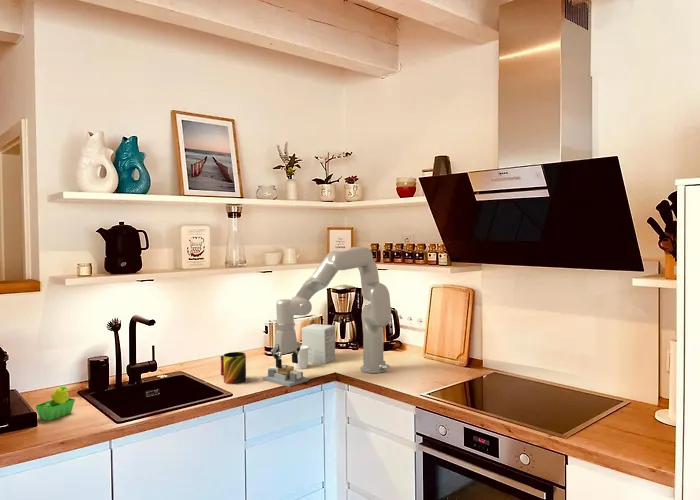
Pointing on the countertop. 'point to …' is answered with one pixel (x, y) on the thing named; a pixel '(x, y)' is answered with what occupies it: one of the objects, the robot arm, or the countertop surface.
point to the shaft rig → (285, 377)
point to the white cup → (302, 358)
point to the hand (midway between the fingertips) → (287, 365)
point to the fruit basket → (56, 405)
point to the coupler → (285, 370)
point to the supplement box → (319, 342)
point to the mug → (233, 367)
